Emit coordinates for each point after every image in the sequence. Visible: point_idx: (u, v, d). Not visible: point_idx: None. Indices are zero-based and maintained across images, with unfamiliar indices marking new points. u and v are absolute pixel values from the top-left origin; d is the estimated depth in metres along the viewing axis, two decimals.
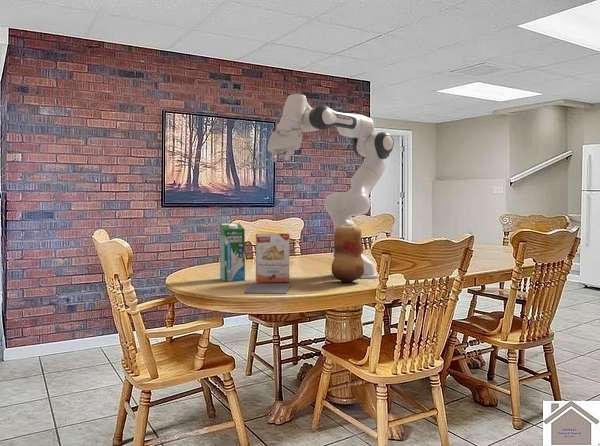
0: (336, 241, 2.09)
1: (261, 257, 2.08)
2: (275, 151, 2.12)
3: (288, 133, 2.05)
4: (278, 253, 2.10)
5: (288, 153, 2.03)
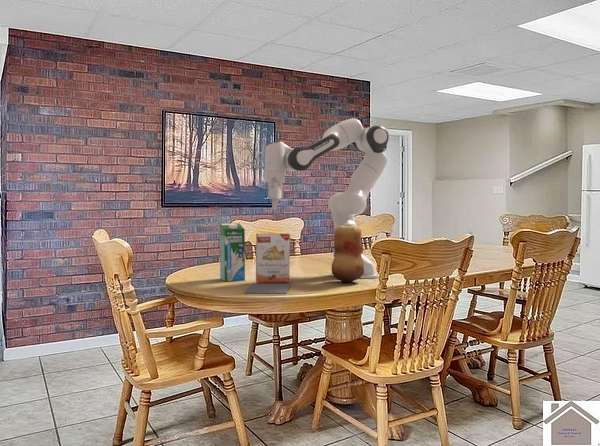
0: (336, 241, 2.09)
1: (261, 257, 2.08)
2: None
3: None
4: (279, 253, 2.09)
5: (273, 204, 2.16)
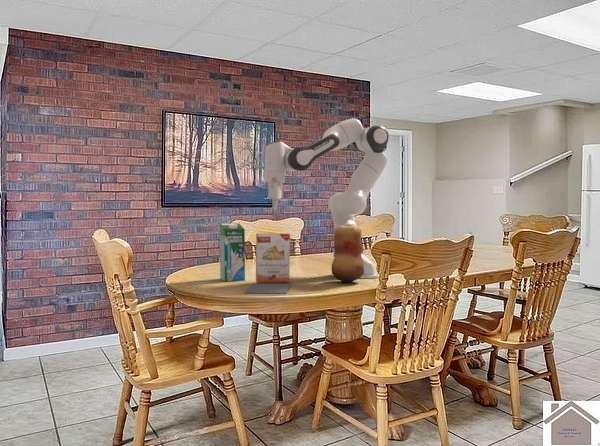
0: (336, 241, 2.09)
1: (261, 257, 2.08)
2: None
3: None
4: (279, 253, 2.09)
5: (273, 204, 2.18)
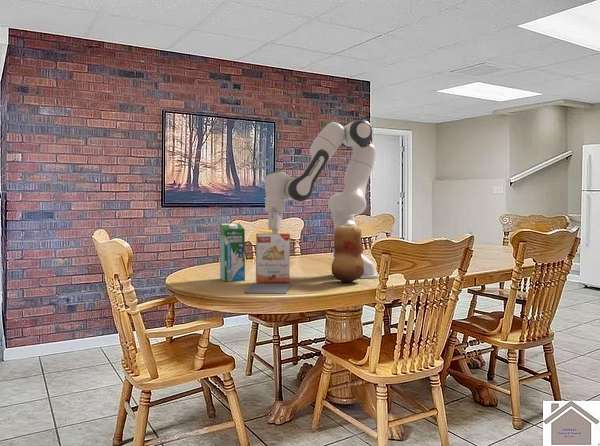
0: (336, 241, 2.09)
1: (261, 257, 2.08)
2: None
3: None
4: (279, 253, 2.09)
5: None
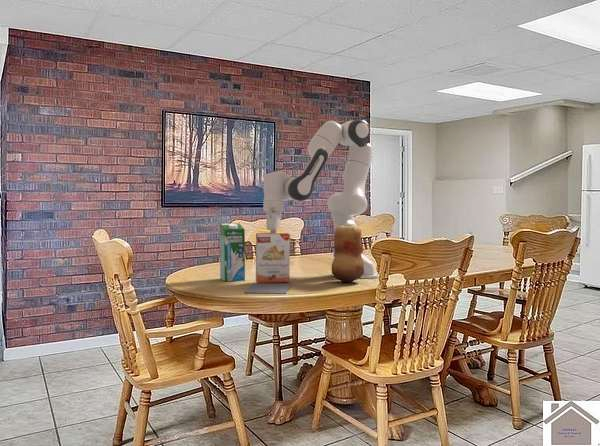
0: (336, 241, 2.09)
1: (261, 257, 2.08)
2: None
3: None
4: (279, 253, 2.09)
5: None
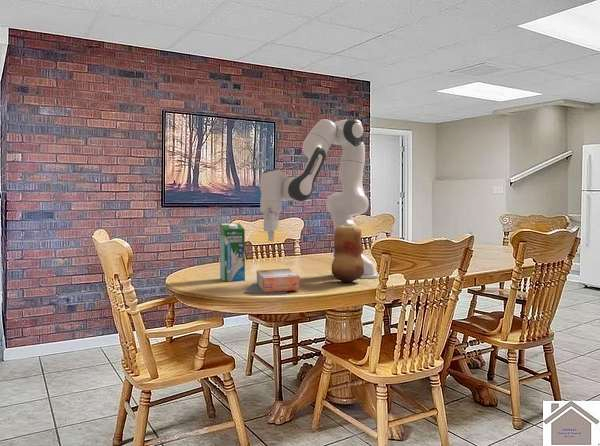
0: (336, 241, 2.09)
1: None
2: None
3: None
4: None
5: (269, 235, 2.05)
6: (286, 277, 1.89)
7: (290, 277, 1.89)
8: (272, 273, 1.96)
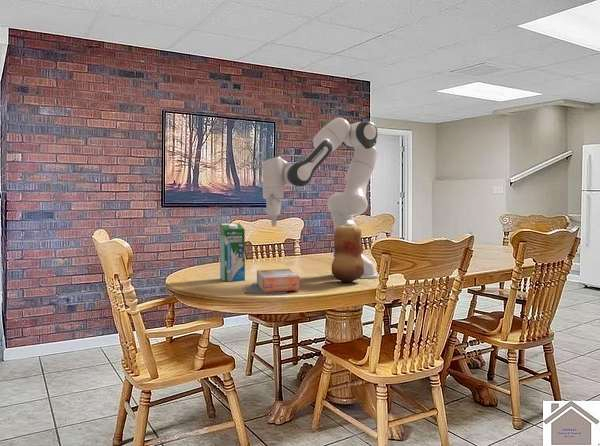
0: (336, 241, 2.09)
1: None
2: None
3: None
4: None
5: (272, 220, 2.13)
6: (286, 277, 1.89)
7: (290, 277, 1.89)
8: (272, 273, 1.96)
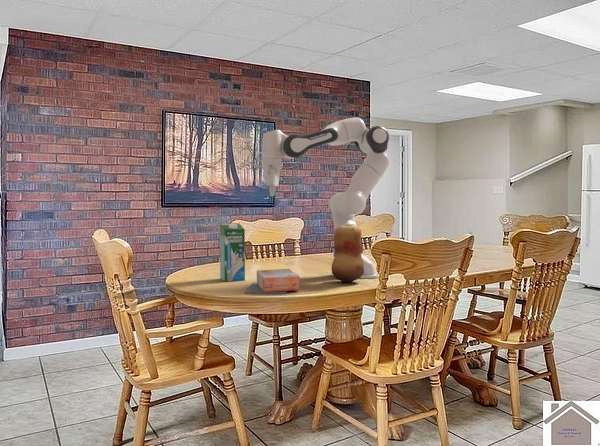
0: (336, 241, 2.09)
1: None
2: None
3: None
4: None
5: (270, 190, 2.24)
6: (286, 277, 1.89)
7: (290, 277, 1.89)
8: (272, 273, 1.96)
